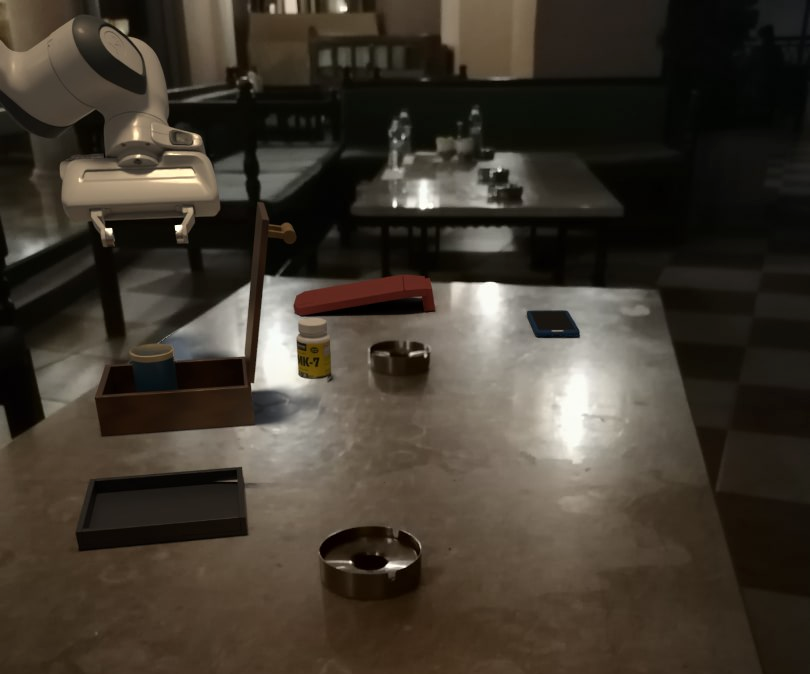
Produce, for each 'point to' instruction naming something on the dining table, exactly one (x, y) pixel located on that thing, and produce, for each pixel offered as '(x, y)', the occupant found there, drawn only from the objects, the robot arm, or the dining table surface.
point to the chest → (176, 399)
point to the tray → (162, 508)
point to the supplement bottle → (313, 349)
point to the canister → (154, 368)
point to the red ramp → (365, 294)
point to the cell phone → (552, 323)
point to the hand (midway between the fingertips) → (145, 242)
